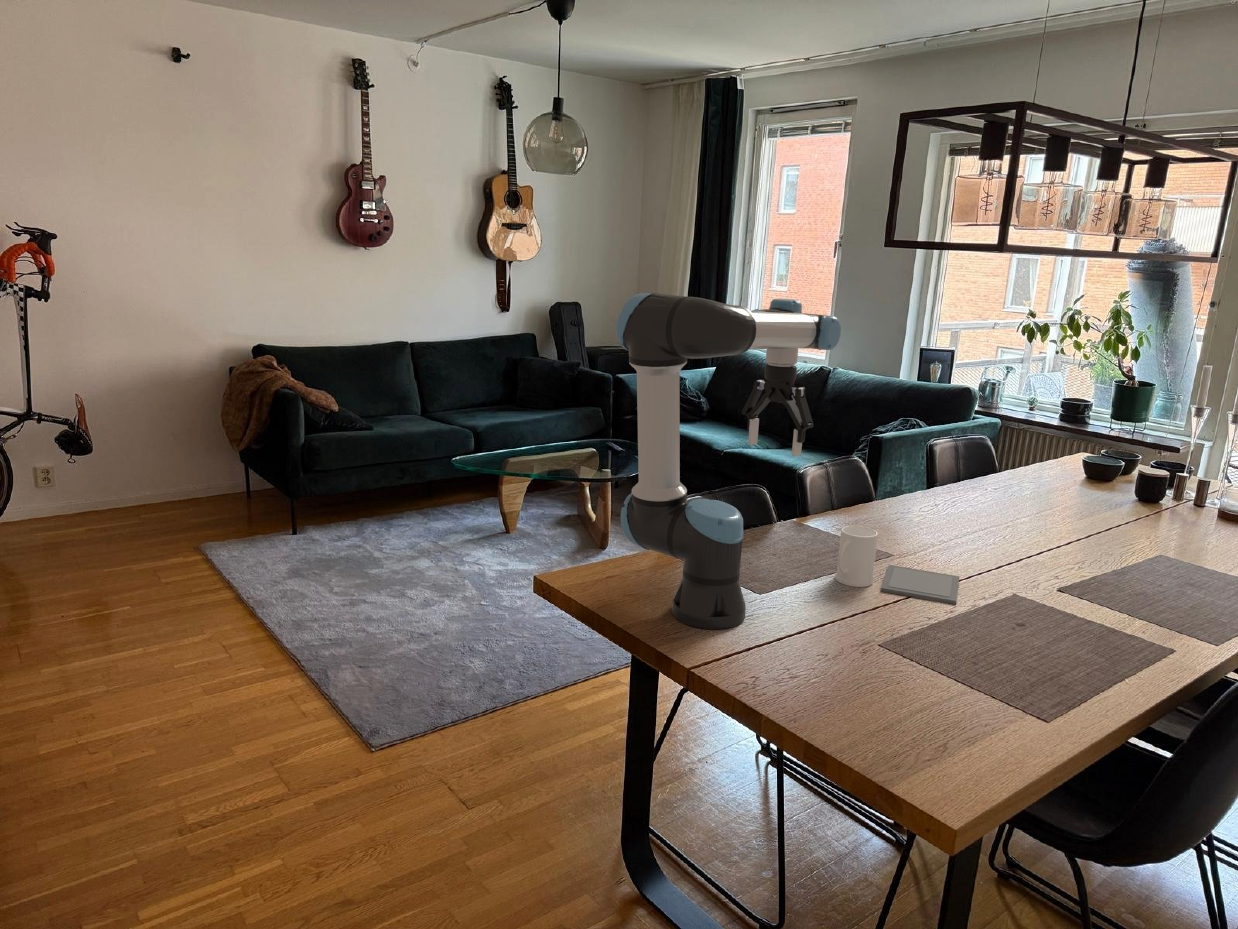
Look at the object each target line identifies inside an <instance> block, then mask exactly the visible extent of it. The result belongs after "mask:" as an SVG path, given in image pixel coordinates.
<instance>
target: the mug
mask: <svg viewBox="0 0 1238 929" xmlns="http://www.w3.org/2000/svg"><path fill="white" fill-rule="evenodd" d="M877 543H878V531H877V530H875V529H873V528H871V527H867V526H863V525H862V526H861V525H846V526H844V527H842V528H841V530H840V539H839V549H838V556H837V568H836V574H835V576H834V578H835V580H836V581H837V583H840V584H842V585H845V586H849V587H853V588H854V587H855V588H865V587H870V586H872V585H873V584H874V569H875V568H874V567H875V562H876V552H877Z"/></svg>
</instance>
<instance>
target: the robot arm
mask: <svg viewBox="0 0 1238 929" xmlns="http://www.w3.org/2000/svg"><path fill="white" fill-rule="evenodd" d="M615 324H616V326H615V335H616V339H617V342H618V343H619V345H620V347H622V348H623V349H624V350H626V351H628V362H629V365H630V366H631V367H632V368H634V370H635V371H636V386H637V387H636V389H637V390H636V394H637V395H636V396H637V397H636V398H637V399H636V402H637V404H636V405H637V408H636V410H637V451H638V452H637V453H638V455H637V458H638V459H637V460H638V461H637V462H638V463H637V464H638V467H637V468H638V482H637V483H636V484H635V485H634V486H632V488H631V493H629V494H628V495H627V496H626V498H625V500H624V501H623V504H624V505H623V506H622V507H621V511H620V525H621V529H622V532H623V535H624V536H625V538H626V539H627V540H628V541H629V542H630V543H632V544H634V545H637V546H638V547H641V548H642V549H645V550H648V551H654V552H657V553H660V554H663V555H666V556H668V557H672V558H675V559H679V560H682V561H683V563H682V577H681V580H680V582H679V584H678V586H677V588H676V592H675V595H674V597H673V600H672V605H671V606H672V607H671V612H672V616H674V618H675V619H676V620H678V621H679V622H680V623H683V624H685V625H687V626H690V627H694V628H699V629H706V630H723V629H731V628H733V627H737V626H738V625H741V624H742V623H743V622H744V620H745V619H746V613H747V612H746V609H747V607H746V602H745V598H744V595H743V591H742V586H741V583H740V578H741V577H740V576H741V575H740V574H741V573H740V572H741V562H742V550H743V539H744V534H745V533H744V518H743V516H742V513H741V512H740V511H739V510H738V508H736V507H735V506H733V505H731V504H729V503H727V502H724V501H721V500H718V499H709V498H696V499H692V500H690V501H689V502H688V493H687V492H688V489H687V487H686V486H685V484H683V483H682V482H681V480H680V478H681V476H680V474H681V473H680V472H681V471H680V467H681V463H680V456H681V454H680V453H681V452H680V451H681V450H680V449H681V448H680V442H681V440H680V439H681V437H680V436H681V435H680V431H681V430H680V429H681V428H680V425H681V424H680V422H681V421H680V414H681V412H680V407H681V406H680V403H681V402H680V396H681V395H680V391H681V390H680V387H681V386H680V383H681V382H680V381H681V380H680V379H681V378H680V375H681V374H680V372H681V370H682V369H683V368H684V366H685V365H687V364H688V359H691V360H694V359H696V360H697V359H711V358H718V357H727V356H728V357H729V356H740V355H743V354H745V353H747V352H748V351H749V350H751V351H752V350H766V354H765V363H766V364H765V366H764V376H763V377H764V379H765V380H764V379H758V380H754V382H753V387H752V388H753V389H752V390H751V392H750V395H749V396H748V398H747V399H746V402H745V404H744V406H743V409H742V410H741V414H742V415H744V416H746V417H747V427H746V429H747V432H748V440H747V445H748V446H752V445H757V444H758V441H759V440H758V438H759V427H760V426H759V425H760V418H758V417H759V414H760V413H761V412H762V411H764V409H765V408H766V407H767V406H768V405H769V403H770V402H771V403H774V402H776V403H777V404H782V405H783V406H784V407H785V408H786V409H787V412H788V413H789V415H790V417H791V419H792V421H793V423H794V425H795V426H796V428H794V429H793V438H792V448H791V456H792V457H797V456H801V455H802V447H803V443H805V441H806V433H807V432H806V431H807V429H812V428H813V427H814V426H815V425H814V421H813V418H812V414H811V411H810V408H809V405H808V401H807V398H806V388H805V387H804V386H802V387H795V381H796V379H797V370H798V369H797V366H796V365H797V363H798V357H799V349H813V350H819V351H823V350H824V351H832V350H833V349H835V348H836V347H837V346H838V343H839V342H840V337H841V330H842V329H841V322H840V321H839V318H837V317H836V316H834V315H827V314H816V313H815V314H814V313H804V312H803V304H802V302H801V301H800V300H798V299H789V298H774V299H772V300H771V301H770V304H769V308H766V309H765V308H764V309H763V308H762V309H759V308H755V309H752V310H749V309H748V308H746V307H745V306H742V305H734V304H729V303H723V302H719V301H715V300H713V299H712V300H711V299H706V298H702V297H697V296H696V297H695V296H685V295H676V294H668V293H667V294H665V293H659V292H651V293H649V292H646V293H645V292H644V293H637V294H634V295H633V296H631V297H630V298H628V299H627V301H626V302H625V303H624V305H623V306H622V308H621V309H620V311H619V314H618V316H617V320H616V323H615ZM763 390H764V391H765V392H764V393H763V395H762V396H761V394H762V392H763ZM760 396H761V398H760ZM759 398H760V400H759Z"/></svg>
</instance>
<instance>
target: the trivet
mask: <svg viewBox="0 0 1238 929" xmlns="http://www.w3.org/2000/svg"><path fill="white" fill-rule="evenodd" d="M959 582H960V576H959V575H953V574H948V573H941V572H935V571H929V570H923V569H917V568H912V567H907V566H899V565H893V564H888V566H887V569H886V572H885V575H884V578H883V581H882V584H881V586H880V592H884V593H890V594H895V595H901V596H905V597H912V598H918V599H922V600H923V599H924V600H928V601H934V602H942V603H946V604H950V605H951V604H952V605H956V604H957V599H958V592H959Z"/></svg>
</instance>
